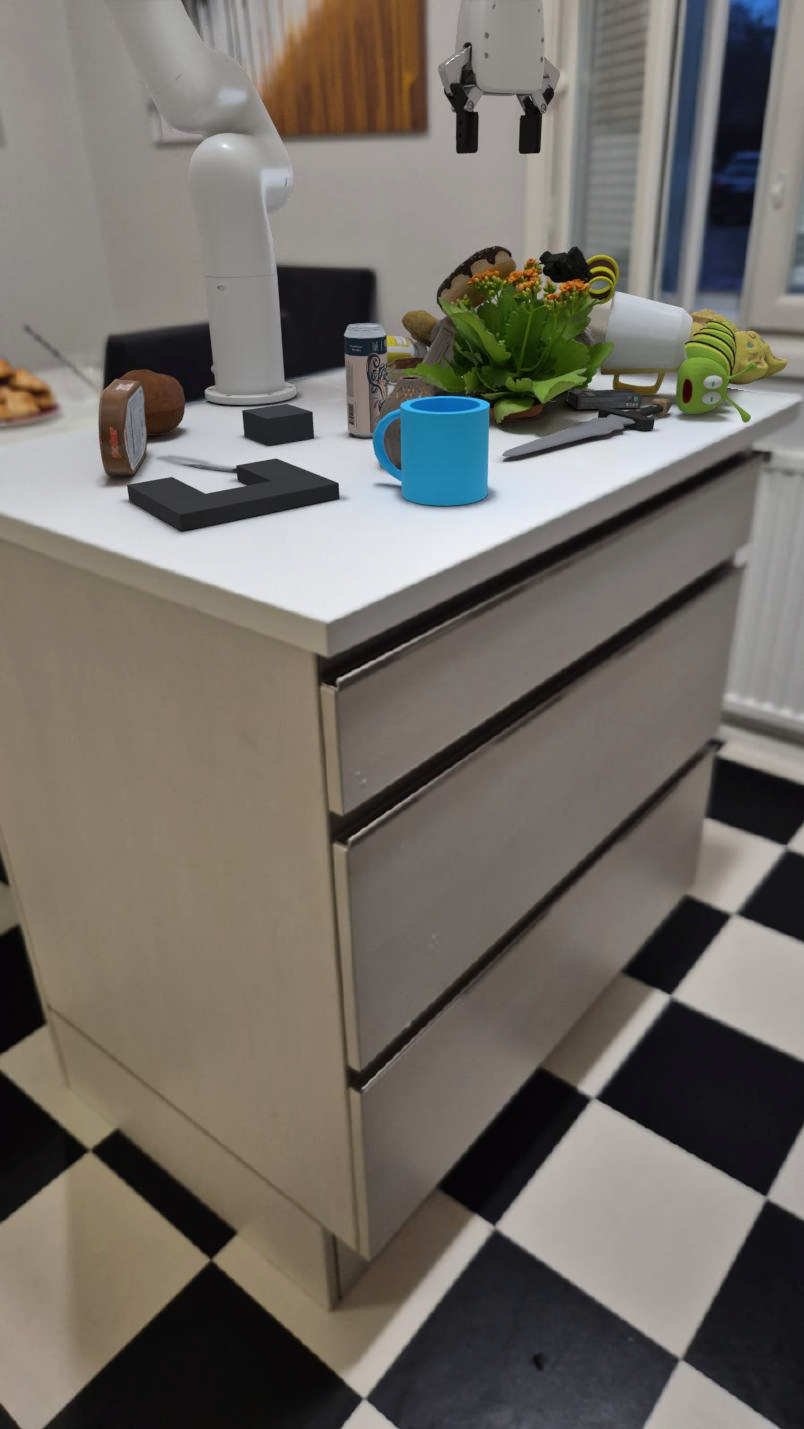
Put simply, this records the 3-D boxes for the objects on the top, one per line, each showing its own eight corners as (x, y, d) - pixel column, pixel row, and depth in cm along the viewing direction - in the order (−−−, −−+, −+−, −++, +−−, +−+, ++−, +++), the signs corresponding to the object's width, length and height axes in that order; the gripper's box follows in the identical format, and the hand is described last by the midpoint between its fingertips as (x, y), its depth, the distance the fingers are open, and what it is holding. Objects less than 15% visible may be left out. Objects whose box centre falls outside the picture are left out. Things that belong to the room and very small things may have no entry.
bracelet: (453, 377, 148) (453, 356, 147) (430, 387, 141) (430, 365, 140) (400, 373, 151) (400, 353, 150) (375, 383, 144) (374, 362, 143)
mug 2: (700, 280, 124) (615, 272, 126) (690, 344, 120) (604, 336, 122) (683, 356, 137) (606, 349, 138) (673, 416, 133) (595, 408, 135)
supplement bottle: (359, 377, 151) (417, 379, 155) (372, 365, 146) (432, 368, 150) (355, 341, 151) (413, 345, 155) (369, 328, 146) (428, 332, 150)
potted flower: (373, 423, 120) (369, 266, 112) (440, 389, 140) (440, 252, 131) (575, 438, 112) (587, 269, 104) (617, 399, 131) (629, 254, 123)
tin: (127, 450, 111) (115, 372, 107) (155, 449, 111) (144, 371, 107) (102, 486, 98) (88, 398, 94) (135, 485, 98) (122, 397, 94)
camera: (434, 353, 144) (467, 294, 137) (466, 377, 144) (500, 318, 137) (402, 379, 136) (435, 317, 128) (436, 404, 136) (471, 344, 129)
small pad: (244, 436, 116) (241, 410, 115) (288, 429, 119) (286, 403, 118) (268, 445, 112) (266, 418, 110) (314, 438, 115) (312, 411, 114)
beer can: (383, 439, 114) (381, 328, 108) (343, 438, 115) (338, 328, 109) (392, 430, 118) (390, 322, 112) (353, 429, 119) (349, 322, 113)
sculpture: (476, 376, 150) (450, 374, 163) (489, 355, 149) (462, 356, 163) (406, 322, 145) (386, 325, 159) (419, 301, 144) (398, 306, 158)
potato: (206, 429, 120) (199, 364, 117) (150, 448, 112) (141, 379, 108) (150, 423, 123) (141, 360, 120) (91, 442, 115) (81, 375, 111)
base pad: (128, 500, 93) (126, 484, 93) (277, 472, 101) (276, 458, 101) (182, 531, 85) (179, 514, 84) (339, 498, 93) (339, 482, 92)
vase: (384, 455, 107) (382, 371, 103) (448, 457, 106) (448, 371, 102) (372, 472, 101) (370, 383, 97) (439, 474, 100) (439, 384, 96)
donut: (525, 276, 130) (510, 249, 130) (513, 260, 119) (497, 230, 119) (454, 325, 134) (439, 299, 133) (436, 314, 123) (420, 285, 122)
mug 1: (502, 488, 95) (505, 401, 91) (461, 510, 89) (462, 417, 85) (397, 473, 101) (395, 389, 97) (351, 492, 94) (347, 404, 91)
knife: (296, 467, 102) (281, 473, 99) (296, 474, 102) (281, 480, 100) (164, 455, 108) (146, 460, 106) (164, 462, 109) (147, 467, 106)
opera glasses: (592, 272, 121) (624, 294, 122) (596, 245, 123) (627, 267, 125) (544, 326, 128) (575, 345, 130) (549, 300, 131) (578, 319, 133)
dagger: (687, 415, 123) (689, 398, 122) (560, 470, 100) (561, 450, 99) (631, 408, 127) (633, 392, 126) (497, 460, 104) (497, 440, 103)
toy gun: (561, 261, 113) (595, 299, 115) (579, 240, 112) (613, 279, 114) (512, 269, 131) (543, 302, 133) (528, 251, 131) (558, 284, 133)
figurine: (709, 305, 144) (803, 328, 136) (696, 366, 150) (785, 392, 141) (665, 315, 138) (760, 340, 129) (652, 378, 143) (743, 407, 134)
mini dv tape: (577, 397, 125) (567, 389, 131) (577, 409, 126) (567, 401, 131) (641, 395, 126) (629, 388, 131) (640, 407, 126) (628, 399, 132)
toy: (668, 358, 117) (756, 364, 113) (719, 293, 136) (795, 296, 132) (663, 420, 121) (747, 428, 117) (713, 349, 140) (787, 353, 136)
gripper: (538, -15, 115) (531, 154, 123) (420, -30, 106) (420, 154, 114) (585, -25, 109) (574, 153, 117) (465, -42, 100) (462, 152, 108)
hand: (498, 153), depth 116 cm, fingers open, 9 cm apart
